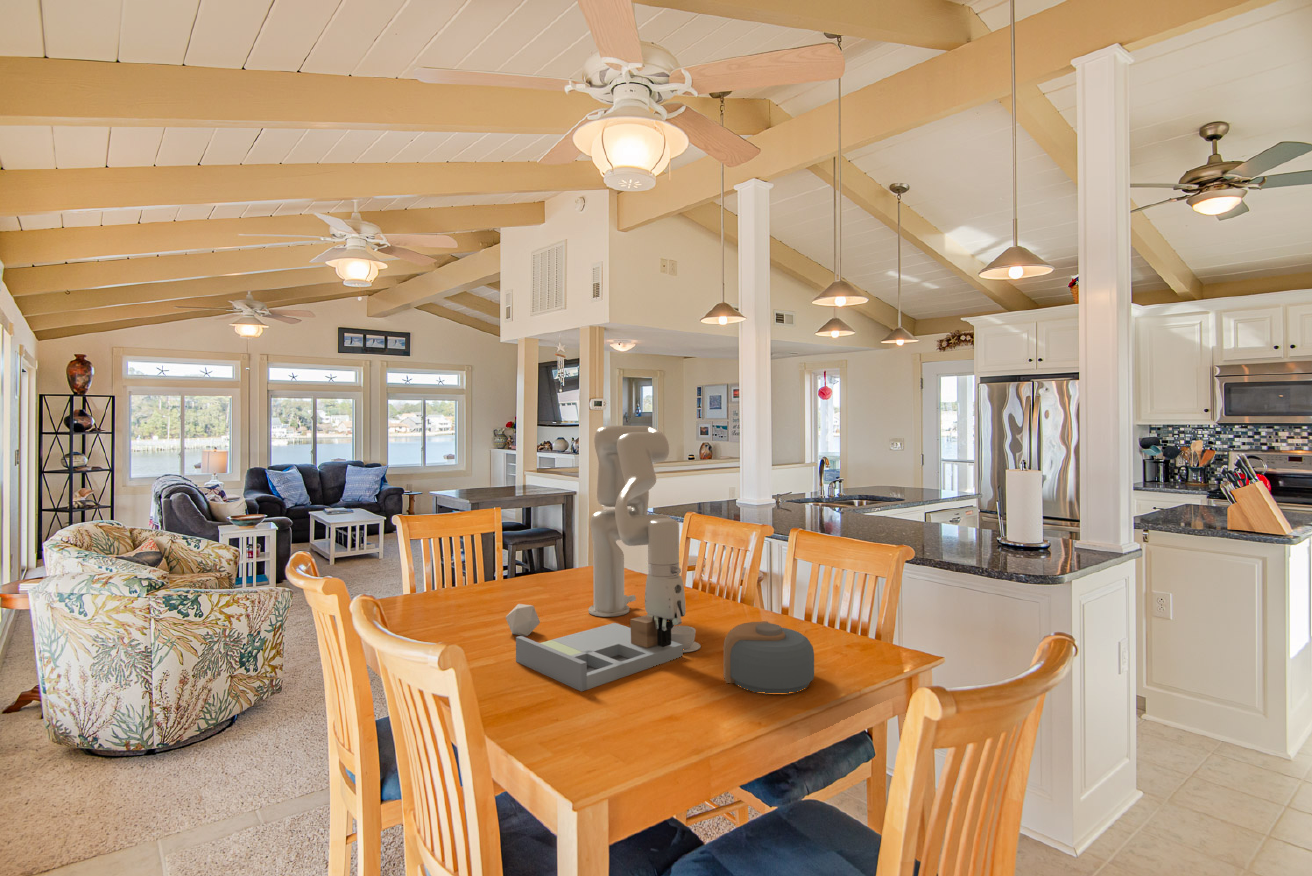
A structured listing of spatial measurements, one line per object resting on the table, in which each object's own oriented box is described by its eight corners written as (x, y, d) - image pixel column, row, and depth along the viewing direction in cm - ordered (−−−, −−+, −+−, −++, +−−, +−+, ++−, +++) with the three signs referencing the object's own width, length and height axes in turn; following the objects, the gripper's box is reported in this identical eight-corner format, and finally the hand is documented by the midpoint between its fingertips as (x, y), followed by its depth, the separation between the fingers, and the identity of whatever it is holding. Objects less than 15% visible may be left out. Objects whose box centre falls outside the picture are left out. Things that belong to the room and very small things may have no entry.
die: (545, 633, 186) (535, 602, 191) (537, 626, 178) (528, 594, 183) (517, 645, 185) (508, 613, 190) (509, 638, 178) (499, 605, 182)
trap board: (614, 633, 184) (614, 611, 184) (682, 656, 165) (682, 632, 165) (515, 661, 162) (515, 637, 162) (581, 691, 143) (581, 663, 143)
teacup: (697, 655, 166) (697, 636, 166) (658, 652, 168) (658, 634, 168) (703, 643, 176) (703, 625, 176) (666, 640, 178) (666, 623, 178)
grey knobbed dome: (752, 658, 163) (752, 609, 163) (828, 677, 151) (828, 624, 151) (707, 681, 149) (707, 628, 148) (788, 705, 136) (788, 646, 136)
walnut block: (648, 638, 170) (647, 614, 170) (665, 642, 166) (664, 618, 166) (631, 643, 166) (630, 619, 166) (647, 647, 161) (646, 623, 162)
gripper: (696, 571, 159) (697, 648, 159) (653, 563, 169) (654, 635, 170) (675, 576, 154) (675, 656, 154) (631, 567, 164) (632, 642, 164)
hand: (664, 645), depth 162 cm, fingers closed
